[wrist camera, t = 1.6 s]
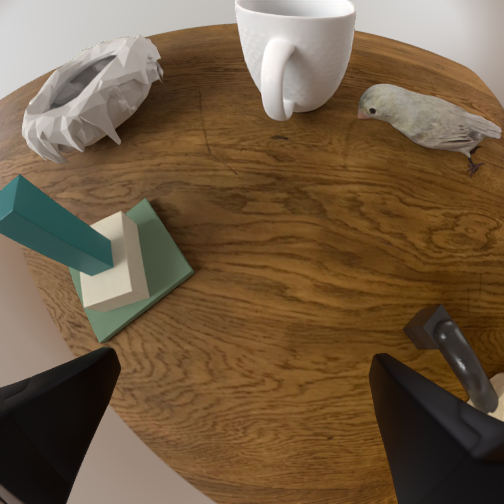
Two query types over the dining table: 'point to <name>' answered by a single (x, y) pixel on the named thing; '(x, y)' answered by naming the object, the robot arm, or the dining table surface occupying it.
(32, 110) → the bowl
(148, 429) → the dining table surface
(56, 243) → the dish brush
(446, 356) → the pan handle
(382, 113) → the decorative bird
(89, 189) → the dining table surface
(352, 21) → the mug
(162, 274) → the mat
